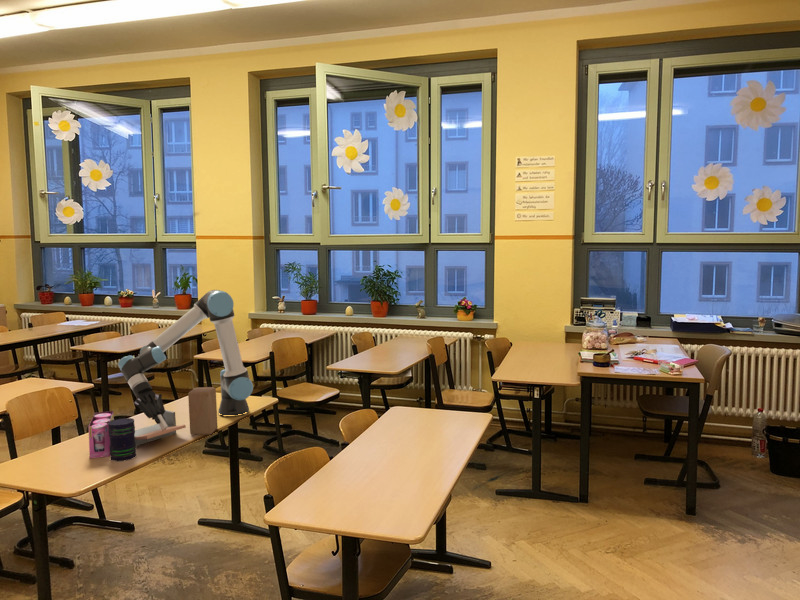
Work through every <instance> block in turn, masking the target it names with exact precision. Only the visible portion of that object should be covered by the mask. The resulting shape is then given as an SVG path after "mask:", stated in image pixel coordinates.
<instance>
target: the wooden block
mask: <svg viewBox="0 0 800 600" xmlns="http://www.w3.org/2000/svg"><path fill="white" fill-rule="evenodd" d="M216 389H217V388H216V387H213V386H212V387H211V386H208V387H200V386H199V387H194V388H193V389H191V390H190V391H189V392H188V394H187V395H188V397H187V399H188V416H189V418H188V419H189V433H190V435H192V436H194V435H193V434H198V435H199V434H201V436H202V435H203V436H205V435H206V436H207V435H212V434H213V433H214V432H216V430H218V407H217V390H216ZM215 429H216V430H215ZM198 435H197V436H198ZM199 436H200V435H199Z"/></svg>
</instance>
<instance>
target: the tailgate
mask: <svg viewBox="0 0 800 600" xmlns="http://www.w3.org/2000/svg"><path fill="white" fill-rule="evenodd" d="M185 428H186V425H185V424H180V425H179V424H178V425H176V426H171V427H168V428H166V429H165V430H163V431H162V429H161V430H157V431H154V432H151V433H147V434H144V435H140V436H137V437H135V440H141V439H149V438H153V437H156V436H159V435H162V434H166V433H169V432H172V431H176V432H177V431H179V430H183V429H185Z"/></svg>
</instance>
